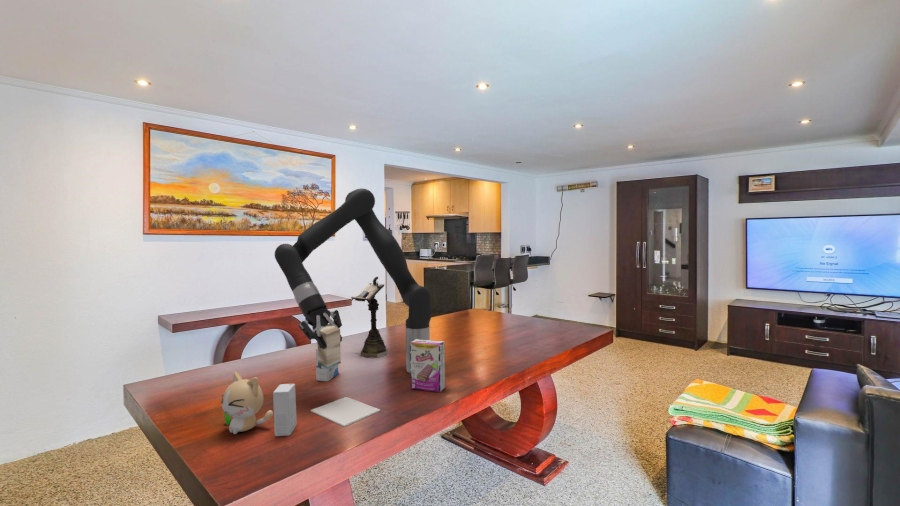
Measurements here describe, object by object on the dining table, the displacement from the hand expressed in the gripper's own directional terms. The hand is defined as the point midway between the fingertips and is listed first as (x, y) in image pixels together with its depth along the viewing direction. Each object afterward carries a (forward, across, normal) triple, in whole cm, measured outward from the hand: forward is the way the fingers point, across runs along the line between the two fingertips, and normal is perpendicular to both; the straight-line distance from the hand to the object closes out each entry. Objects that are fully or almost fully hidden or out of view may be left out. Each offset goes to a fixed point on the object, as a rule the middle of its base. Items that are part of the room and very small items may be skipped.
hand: (332, 344), depth 130 cm
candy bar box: (+27, +24, -1) cm, 36 cm away
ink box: (+5, +11, +30) cm, 32 cm away
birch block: (+4, 0, +6) cm, 7 cm away
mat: (+20, -4, +3) cm, 20 cm away
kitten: (+10, -28, +13) cm, 32 cm away
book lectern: (+3, +39, +39) cm, 55 cm away
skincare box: (+16, -22, +4) cm, 28 cm away
